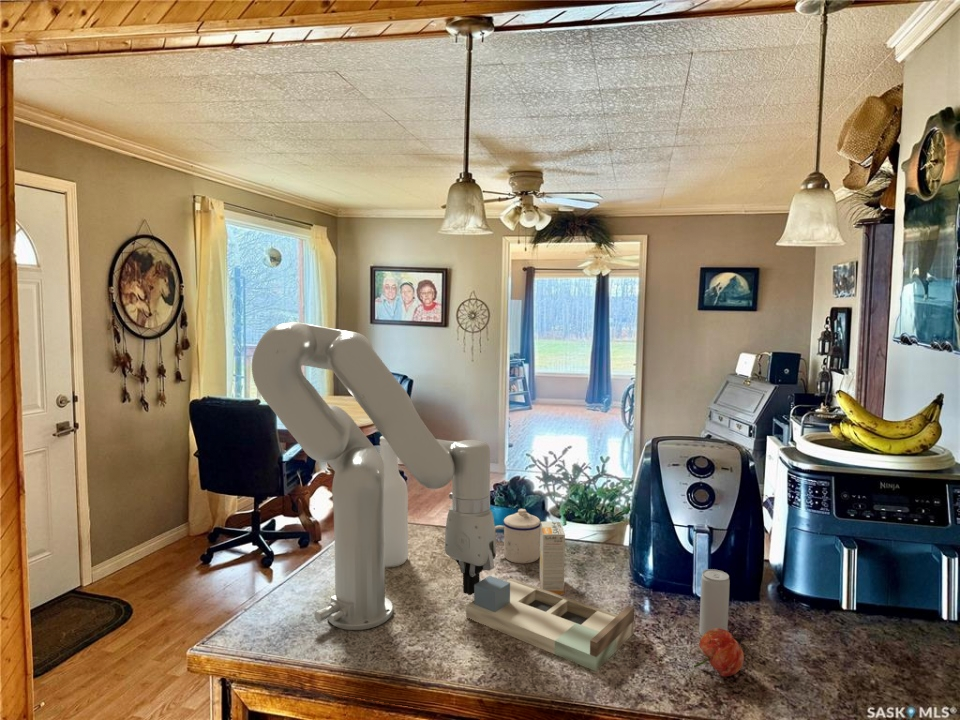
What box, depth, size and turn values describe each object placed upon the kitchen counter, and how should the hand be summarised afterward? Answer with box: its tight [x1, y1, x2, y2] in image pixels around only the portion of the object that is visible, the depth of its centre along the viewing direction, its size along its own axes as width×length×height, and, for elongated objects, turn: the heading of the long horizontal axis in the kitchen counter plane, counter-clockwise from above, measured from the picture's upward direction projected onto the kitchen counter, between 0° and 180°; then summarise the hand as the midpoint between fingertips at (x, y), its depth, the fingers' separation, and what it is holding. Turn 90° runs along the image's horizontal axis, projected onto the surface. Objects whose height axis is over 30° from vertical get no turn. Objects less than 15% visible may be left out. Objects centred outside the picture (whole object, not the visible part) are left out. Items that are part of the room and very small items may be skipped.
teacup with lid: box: [495, 508, 542, 564], centre depth 147 cm, size 12×9×12 cm
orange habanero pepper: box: [693, 628, 747, 678], centre depth 101 cm, size 7×7×10 cm
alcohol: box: [379, 435, 409, 568], centre depth 143 cm, size 9×9×30 cm
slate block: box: [473, 575, 510, 612], centre depth 119 cm, size 5×5×4 cm
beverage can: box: [699, 568, 731, 637], centre depth 111 cm, size 5×5×12 cm
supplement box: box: [539, 521, 566, 595], centre depth 131 cm, size 8×5×13 cm, turn 179°
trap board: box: [465, 577, 635, 672], centre depth 115 cm, size 15×28×5 cm, turn 52°
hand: (471, 591), depth 122 cm, fingers closed
